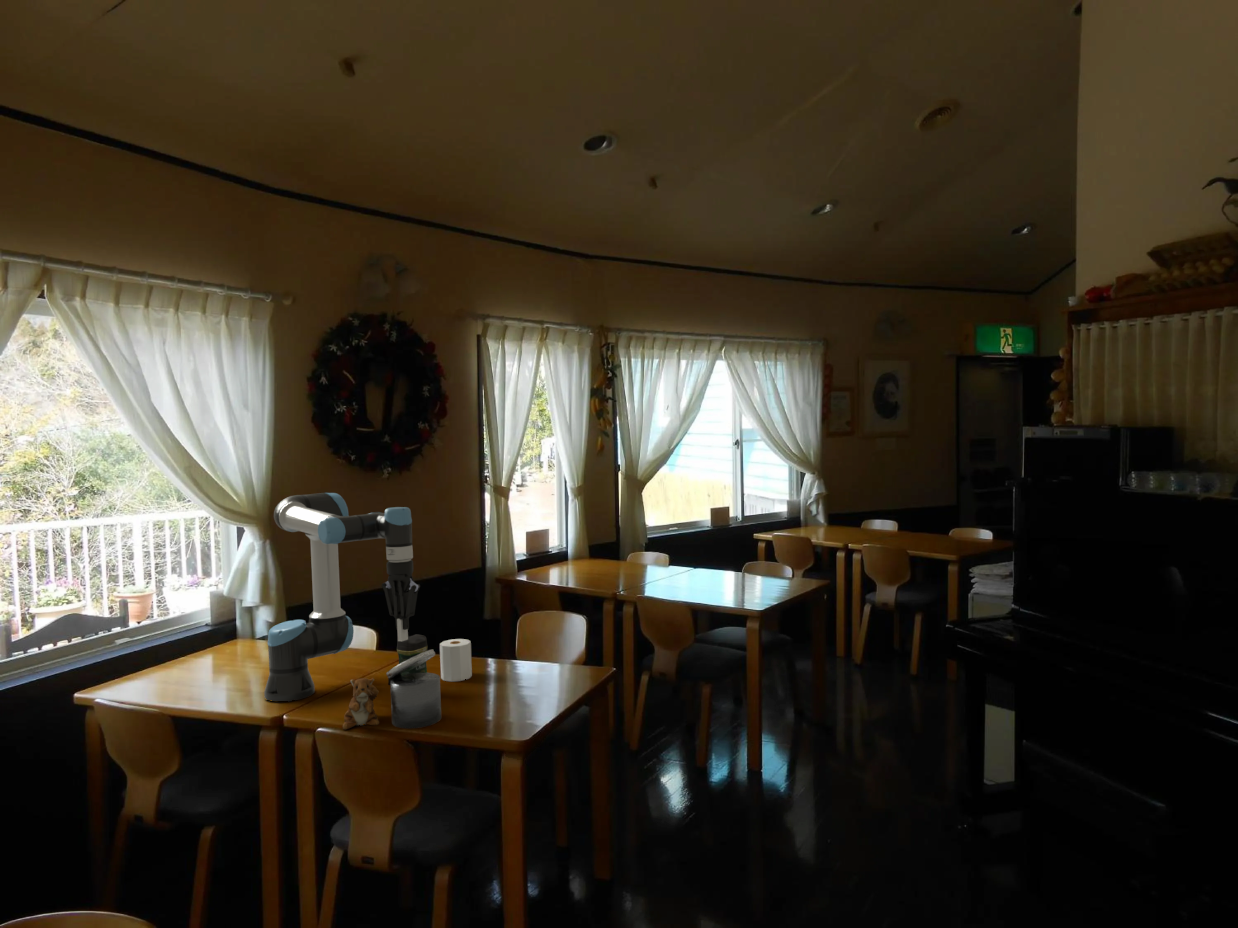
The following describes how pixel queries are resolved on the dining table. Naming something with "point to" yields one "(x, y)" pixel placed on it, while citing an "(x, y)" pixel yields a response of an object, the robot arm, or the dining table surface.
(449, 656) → the toilet paper
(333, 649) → the robot arm
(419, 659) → the lid
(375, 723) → the stuffed squirrel
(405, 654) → the coffee jar
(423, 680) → the cooker pot
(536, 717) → the dining table surface
